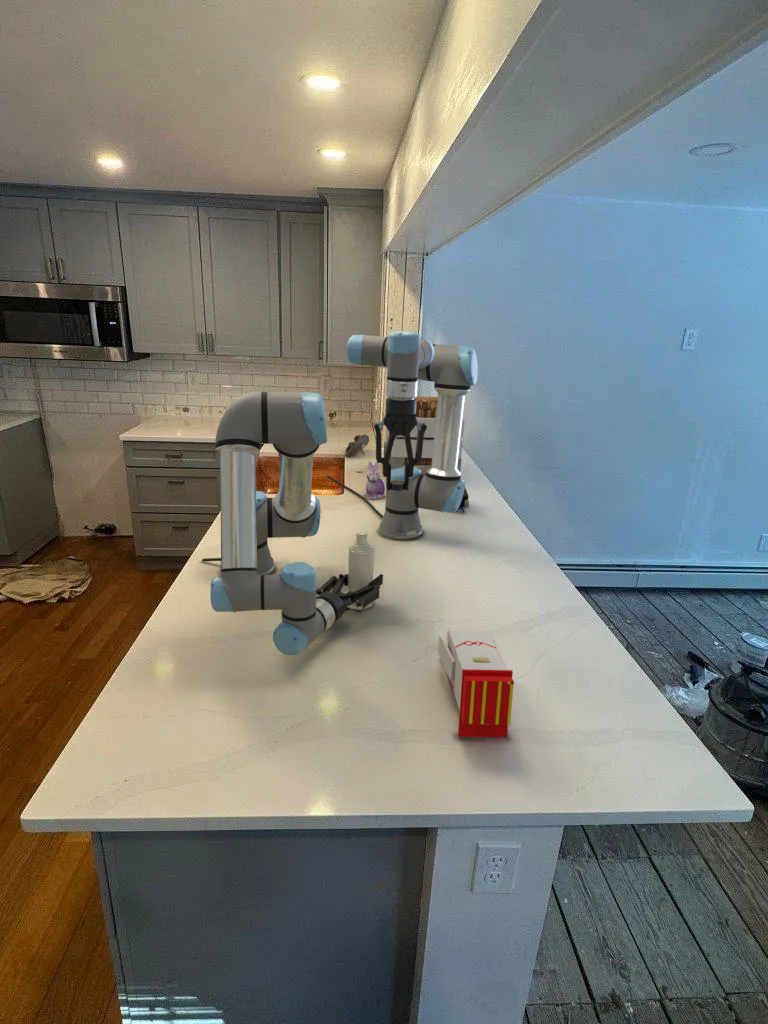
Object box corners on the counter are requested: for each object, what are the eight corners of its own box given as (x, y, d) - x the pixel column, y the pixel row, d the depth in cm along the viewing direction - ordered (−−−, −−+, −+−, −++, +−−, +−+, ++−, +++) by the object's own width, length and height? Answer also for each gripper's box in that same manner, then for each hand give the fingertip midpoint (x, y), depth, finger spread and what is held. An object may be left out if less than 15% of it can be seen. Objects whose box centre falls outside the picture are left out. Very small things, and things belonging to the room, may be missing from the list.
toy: (488, 613, 130) (523, 677, 101) (484, 667, 133) (517, 744, 104) (435, 612, 130) (455, 676, 101) (432, 666, 133) (451, 743, 103)
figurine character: (469, 517, 223) (463, 501, 236) (471, 500, 219) (465, 484, 233) (452, 516, 222) (447, 500, 236) (454, 499, 219) (449, 483, 232)
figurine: (370, 501, 232) (371, 465, 226) (359, 493, 240) (360, 459, 235) (390, 498, 236) (392, 463, 231) (379, 491, 244) (380, 457, 239)
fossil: (345, 440, 315) (366, 425, 310) (356, 453, 318) (377, 439, 313) (338, 454, 296) (361, 438, 291) (350, 468, 298) (372, 452, 293)
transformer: (382, 463, 289) (386, 382, 275) (445, 464, 293) (451, 384, 279) (390, 482, 257) (394, 392, 243) (460, 483, 261) (468, 394, 247)
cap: (401, 485, 149) (402, 479, 148) (406, 490, 145) (407, 484, 145) (387, 486, 148) (387, 480, 147) (391, 491, 144) (392, 485, 144)
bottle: (375, 599, 154) (378, 530, 147) (367, 611, 148) (369, 539, 141) (352, 595, 156) (354, 526, 149) (343, 606, 150) (345, 535, 143)
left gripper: (289, 614, 140) (338, 579, 160) (358, 637, 132) (401, 597, 151) (289, 587, 138) (338, 554, 157) (359, 609, 129) (402, 571, 149)
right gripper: (368, 399, 134) (365, 493, 142) (438, 401, 136) (432, 493, 144) (365, 394, 141) (363, 484, 149) (432, 395, 143) (426, 484, 151)
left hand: (369, 575), depth 154 cm, fingers closed on bottle, 7 cm apart
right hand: (397, 488), depth 147 cm, fingers closed on cap, 4 cm apart
